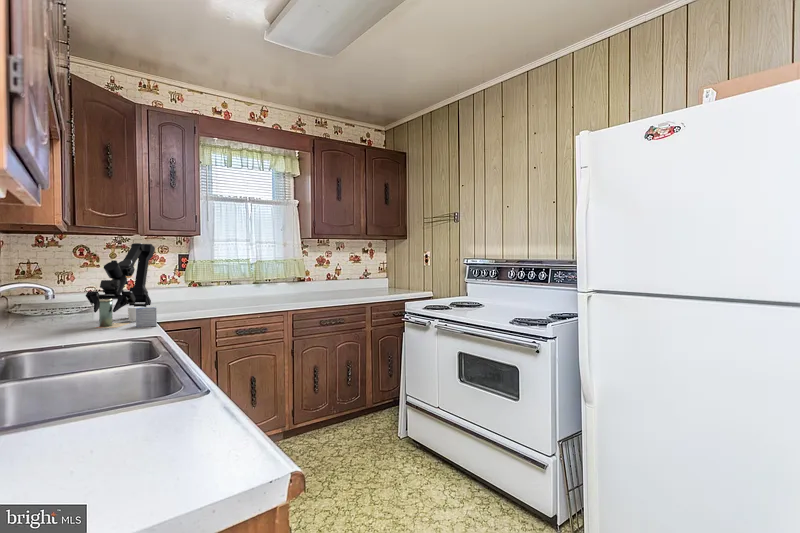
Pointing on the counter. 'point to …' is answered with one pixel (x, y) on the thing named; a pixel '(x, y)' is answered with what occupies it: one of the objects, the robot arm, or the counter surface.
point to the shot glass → (132, 313)
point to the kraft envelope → (115, 325)
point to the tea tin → (105, 312)
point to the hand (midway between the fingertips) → (104, 311)
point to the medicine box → (146, 316)
